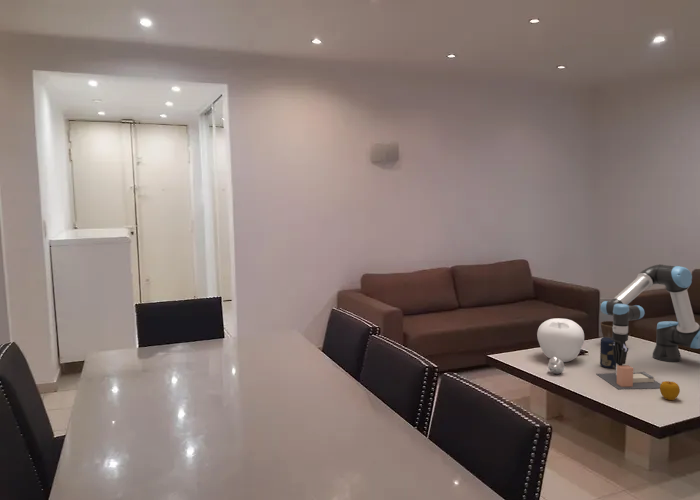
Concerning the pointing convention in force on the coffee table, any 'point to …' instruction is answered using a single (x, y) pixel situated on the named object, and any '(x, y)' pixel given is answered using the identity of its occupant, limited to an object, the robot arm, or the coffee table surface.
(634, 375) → the ticket booklet
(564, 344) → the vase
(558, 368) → the silver round lump
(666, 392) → the apple
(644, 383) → the slate mat
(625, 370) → the pink upright block
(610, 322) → the plant pot
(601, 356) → the canister
